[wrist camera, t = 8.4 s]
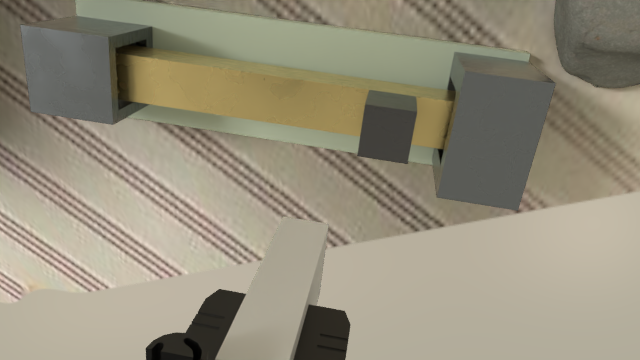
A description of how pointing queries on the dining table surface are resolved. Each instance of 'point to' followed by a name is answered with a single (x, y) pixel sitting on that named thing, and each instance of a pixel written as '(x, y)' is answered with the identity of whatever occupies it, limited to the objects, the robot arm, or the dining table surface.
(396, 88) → the sliding bolt
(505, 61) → the socket block
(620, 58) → the stone
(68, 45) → the guide sleeve
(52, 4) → the dining table surface
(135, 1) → the base plank
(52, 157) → the dining table surface
